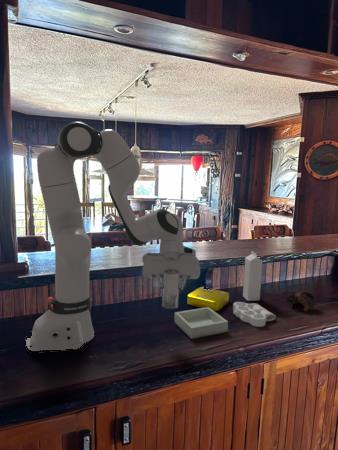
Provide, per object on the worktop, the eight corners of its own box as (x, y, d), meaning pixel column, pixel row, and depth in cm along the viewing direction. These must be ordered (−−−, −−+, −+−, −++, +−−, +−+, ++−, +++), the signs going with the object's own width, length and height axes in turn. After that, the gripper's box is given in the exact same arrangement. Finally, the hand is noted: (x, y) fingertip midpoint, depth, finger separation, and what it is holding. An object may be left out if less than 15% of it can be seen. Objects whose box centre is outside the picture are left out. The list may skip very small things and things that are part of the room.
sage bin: (191, 338, 116) (191, 328, 116) (174, 322, 129) (174, 312, 128) (227, 331, 122) (228, 321, 122) (207, 316, 135) (208, 307, 134)
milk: (254, 295, 160) (257, 250, 156) (259, 300, 154) (263, 253, 151) (242, 296, 159) (245, 250, 156) (247, 300, 153) (250, 254, 150)
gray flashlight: (165, 309, 111) (167, 272, 109) (159, 303, 116) (161, 268, 114) (180, 307, 113) (182, 271, 112) (174, 302, 118) (175, 267, 117)
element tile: (185, 304, 148) (185, 294, 147) (200, 294, 161) (200, 285, 160) (216, 312, 140) (217, 301, 139) (230, 301, 153) (230, 291, 152)
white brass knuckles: (280, 324, 130) (248, 329, 125) (254, 306, 147) (224, 310, 142) (281, 316, 130) (249, 321, 125) (254, 299, 147) (225, 303, 142)
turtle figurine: (304, 303, 153) (314, 291, 149) (310, 319, 145) (320, 307, 141) (280, 297, 152) (289, 284, 147) (284, 313, 144) (294, 301, 140)
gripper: (142, 248, 119) (140, 283, 111) (199, 250, 119) (201, 285, 111) (143, 257, 124) (140, 291, 116) (198, 259, 124) (199, 293, 116)
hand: (170, 288), depth 113 cm, fingers closed on gray flashlight, 5 cm apart
